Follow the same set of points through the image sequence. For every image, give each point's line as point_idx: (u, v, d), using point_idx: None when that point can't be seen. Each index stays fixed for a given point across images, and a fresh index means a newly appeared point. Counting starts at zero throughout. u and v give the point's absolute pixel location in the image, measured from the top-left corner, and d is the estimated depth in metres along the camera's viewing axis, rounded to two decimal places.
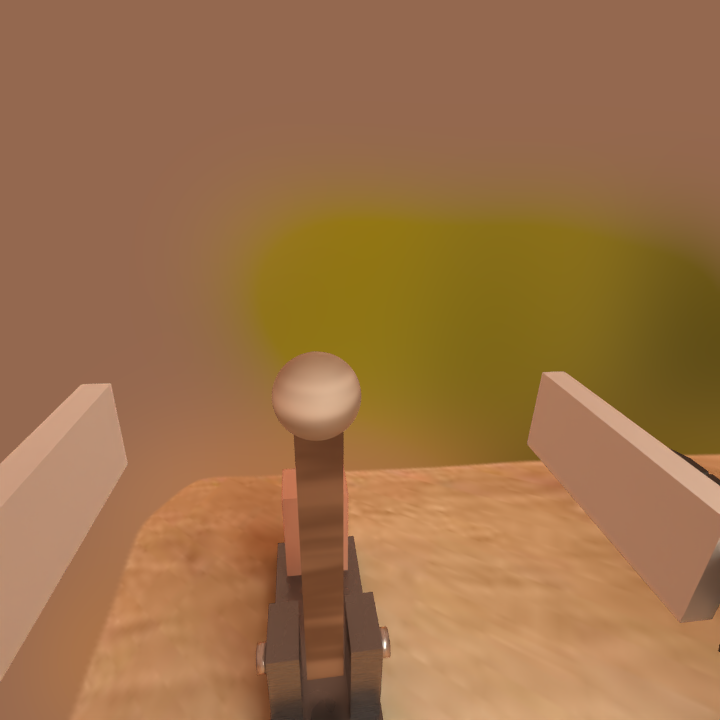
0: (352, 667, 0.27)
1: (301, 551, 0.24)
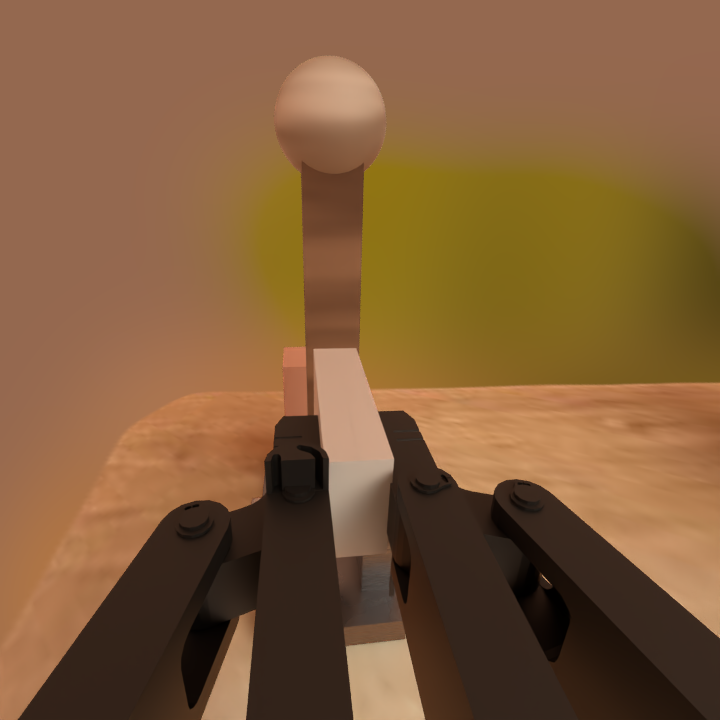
0: None
1: (307, 346, 0.20)
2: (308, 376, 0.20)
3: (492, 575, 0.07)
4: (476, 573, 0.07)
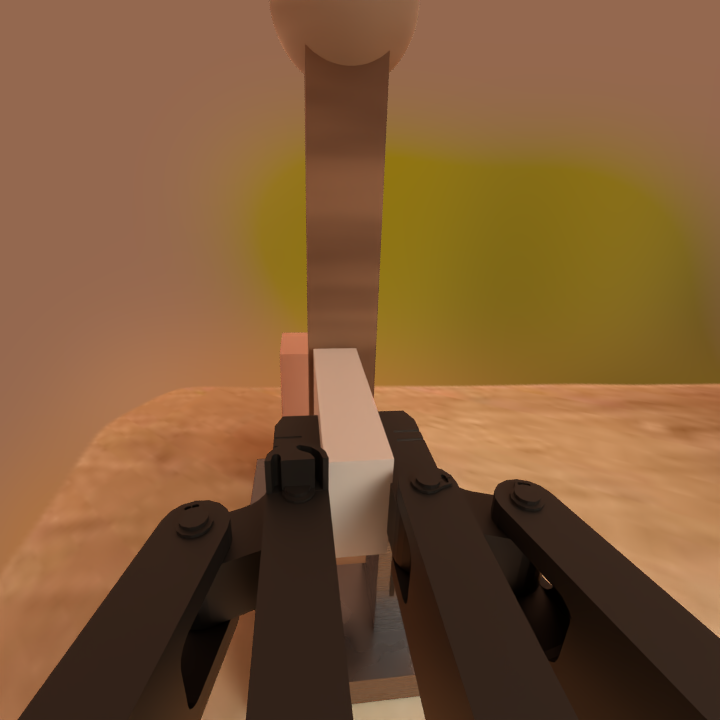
0: None
1: (310, 311, 0.15)
2: (310, 351, 0.15)
3: (492, 575, 0.07)
4: (476, 573, 0.07)
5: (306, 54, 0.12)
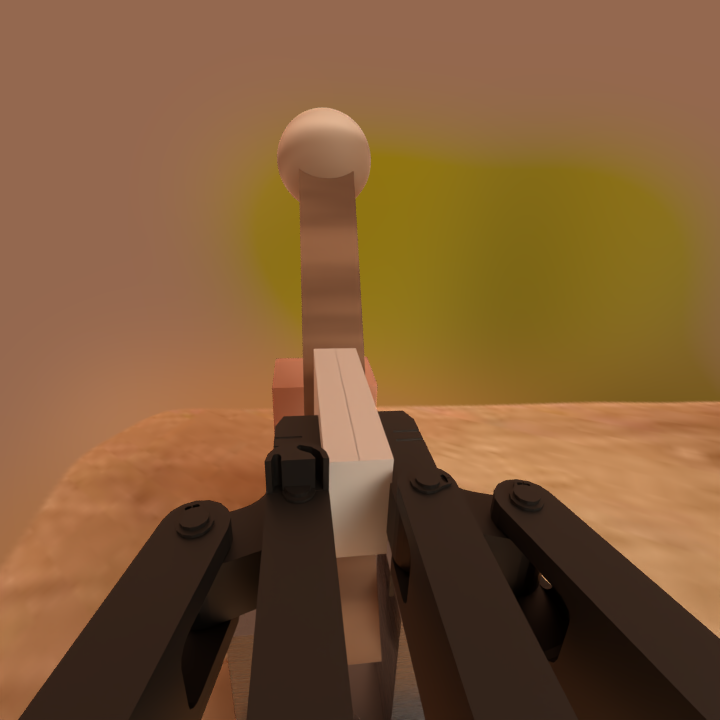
0: (400, 650, 0.14)
1: (304, 335, 0.17)
2: (305, 372, 0.17)
3: (492, 575, 0.07)
4: (476, 573, 0.07)
5: (299, 173, 0.19)
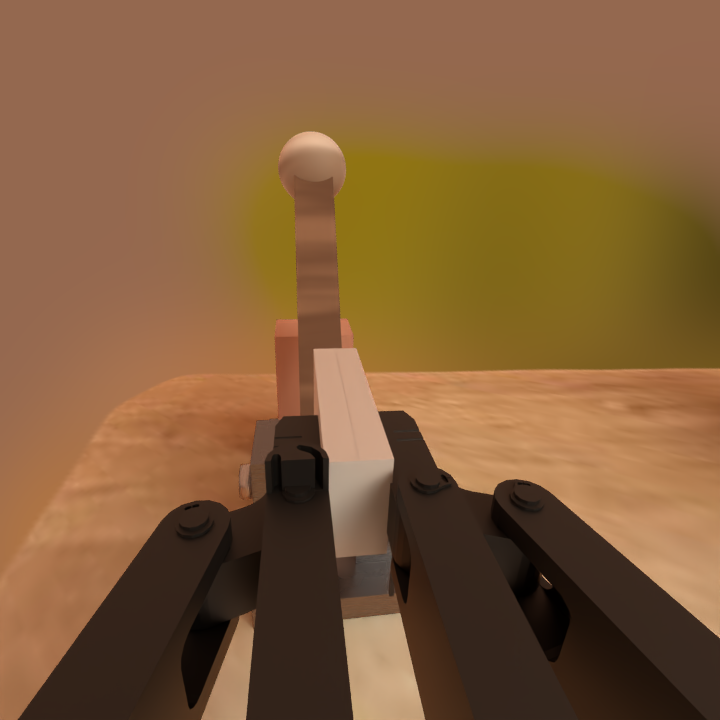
0: None
1: (298, 289, 0.25)
2: (298, 313, 0.25)
3: (492, 575, 0.07)
4: (476, 573, 0.07)
5: (294, 178, 0.27)
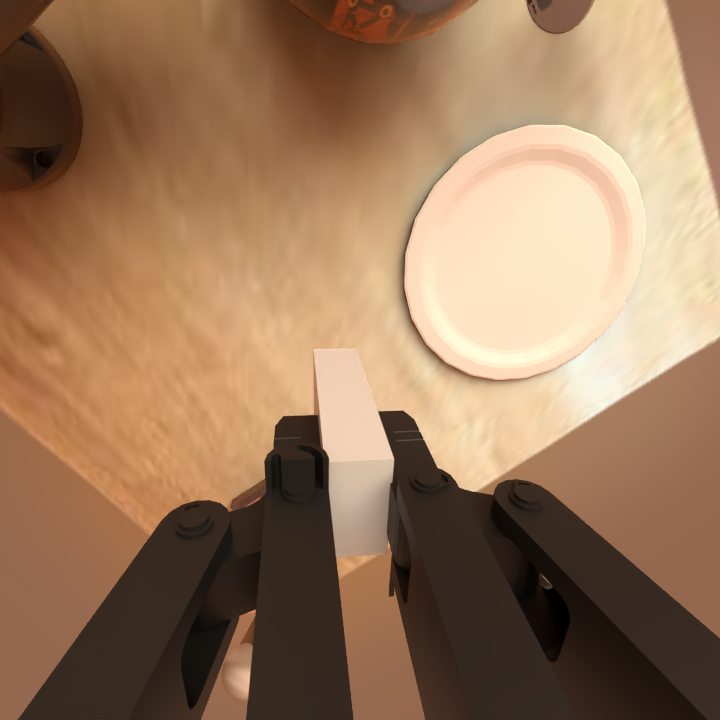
0: None
1: None
2: None
3: (492, 575, 0.07)
4: (476, 573, 0.07)
5: None
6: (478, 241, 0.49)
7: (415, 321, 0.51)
